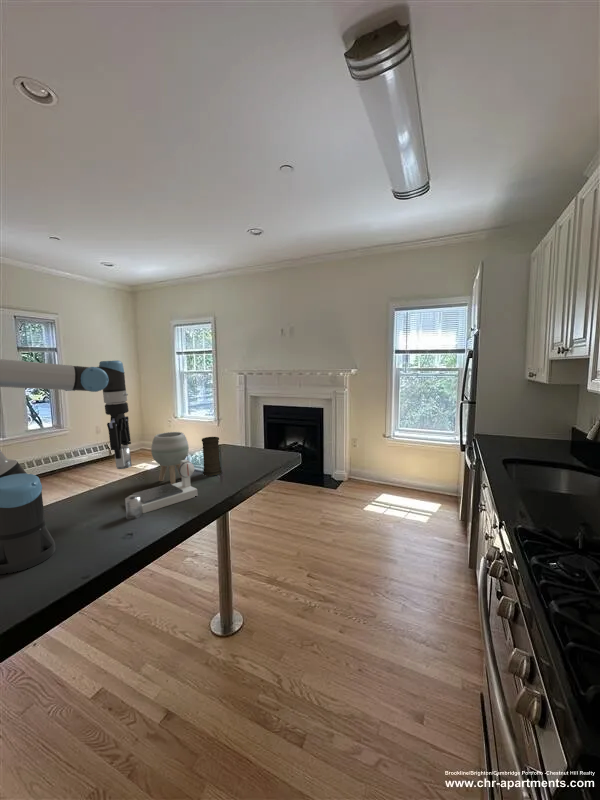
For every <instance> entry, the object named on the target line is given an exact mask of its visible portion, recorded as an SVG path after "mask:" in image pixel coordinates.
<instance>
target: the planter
mask: <svg viewBox="0 0 600 800" xmlns="http://www.w3.org/2000/svg"><path fill="white" fill-rule="evenodd" d="M150 449H151V450H150V451H151V456H152V458H153V460H154V461H155V462H156V463H157V464H158V465H160V470H159V477H158V481H159V482H163V481H164V479H165V476H166V471H167V468H168V472H169V481H170V482H169V483H170V484H174V483H177V482H176V470H177V472H178V475H179V478H180V479H182V477H181V475H180V474H179V468H180V466H181V461H182V460H186V459H187V456H188V455H189V442H188V439H187V436H186V435H185V434H184V432H181V431H170V432H167V431H166V432H162V433H157V434H155V436H154V437H153V439H152V444H151V448H150Z"/></svg>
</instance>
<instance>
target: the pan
mask: <svg viewBox="0 0 600 800" xmlns="http://www.w3.org/2000/svg"><path fill="white" fill-rule="evenodd" d="M182 492H183V490H181V489H179V488H178V487H176V486H174V485H172V484H171V482H169V483H165V484H163V485H159V486H155V487H151V488H148V489H144V490H140V491H136V492H133V493H132V495H140V497H141V501H142V502H143V503H144V504H145V503H148V502H151V501H155V500H158V499H162V498H165V497H168V496H172V495H175V494H178V493H182Z"/></svg>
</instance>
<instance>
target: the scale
mask: <svg viewBox="0 0 600 800" xmlns="http://www.w3.org/2000/svg"><path fill="white" fill-rule="evenodd" d="M194 472H195V465H194V463H192V462H191V461H190V460H188V459H185V460H182V461H181V466H180V468H179V473H178V475H179V474H180V475H181V477H182V478H181V481H179V482H176V483H174V484H172V485H174V486H176V487H178V488H179V489H181V490H183V492H182V493H178V494H175V495H172V496H168V497H165V498H162V499H158V500H155V501H151V502H148V503H145V504H144V503H143V502H142V501H141V510H142V514H146V513H149V512H152V511H156V510H158V509H161V508H164V507H167V506H171V505H173V504H174V505H175V504H177V503H180V502H184V501H187V500H190V499H193V498H196V497H195V496H197V497H198V489H197V488H196V487H194V486H192V485H191V476H192V475H193V474H194ZM180 475H179V476H180ZM132 495H133V494H131V495H130V496H132Z"/></svg>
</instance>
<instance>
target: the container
mask: <svg viewBox="0 0 600 800" xmlns="http://www.w3.org/2000/svg"><path fill="white" fill-rule="evenodd" d="M219 440H220V438H219V437H218V436H207V437H202V438H201V442H202V453H203V454H202V456H203V469H202V471H203V472H202V474H204V475H203V476H205V475H206V476H205V477H213V476H212V475H217V474H219V475H221V474H222V466H221V461H220V445H219ZM220 473H221V474H220ZM217 476H218V475H217Z"/></svg>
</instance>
